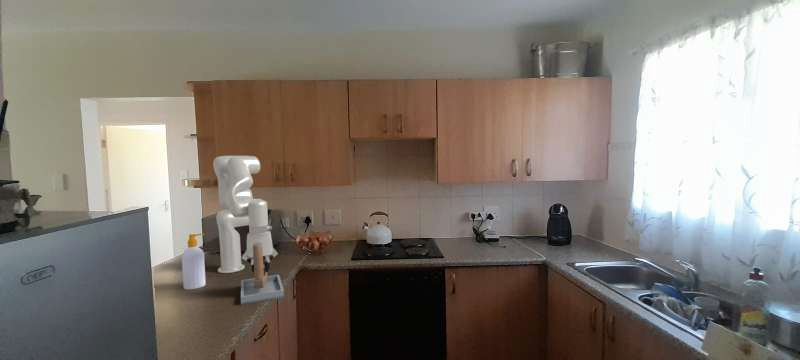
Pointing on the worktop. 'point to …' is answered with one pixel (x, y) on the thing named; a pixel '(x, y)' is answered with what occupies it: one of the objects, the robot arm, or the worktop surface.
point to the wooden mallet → (259, 267)
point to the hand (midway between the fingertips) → (260, 271)
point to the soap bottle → (193, 265)
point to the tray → (261, 290)
